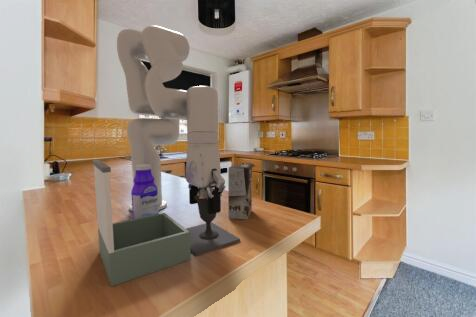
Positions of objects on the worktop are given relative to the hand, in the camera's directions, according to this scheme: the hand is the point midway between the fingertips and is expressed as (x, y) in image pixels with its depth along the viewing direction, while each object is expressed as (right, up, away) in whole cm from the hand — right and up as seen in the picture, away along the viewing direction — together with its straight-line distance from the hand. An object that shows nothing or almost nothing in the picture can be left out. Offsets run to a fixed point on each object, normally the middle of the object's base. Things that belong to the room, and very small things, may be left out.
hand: (204, 207), depth 60 cm
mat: (0, -8, +1) cm, 8 cm away
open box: (-12, -9, -8) cm, 17 cm away
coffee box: (+9, -6, +18) cm, 21 cm away
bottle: (-19, -7, +11) cm, 23 cm away
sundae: (+1, -7, +1) cm, 7 cm away
